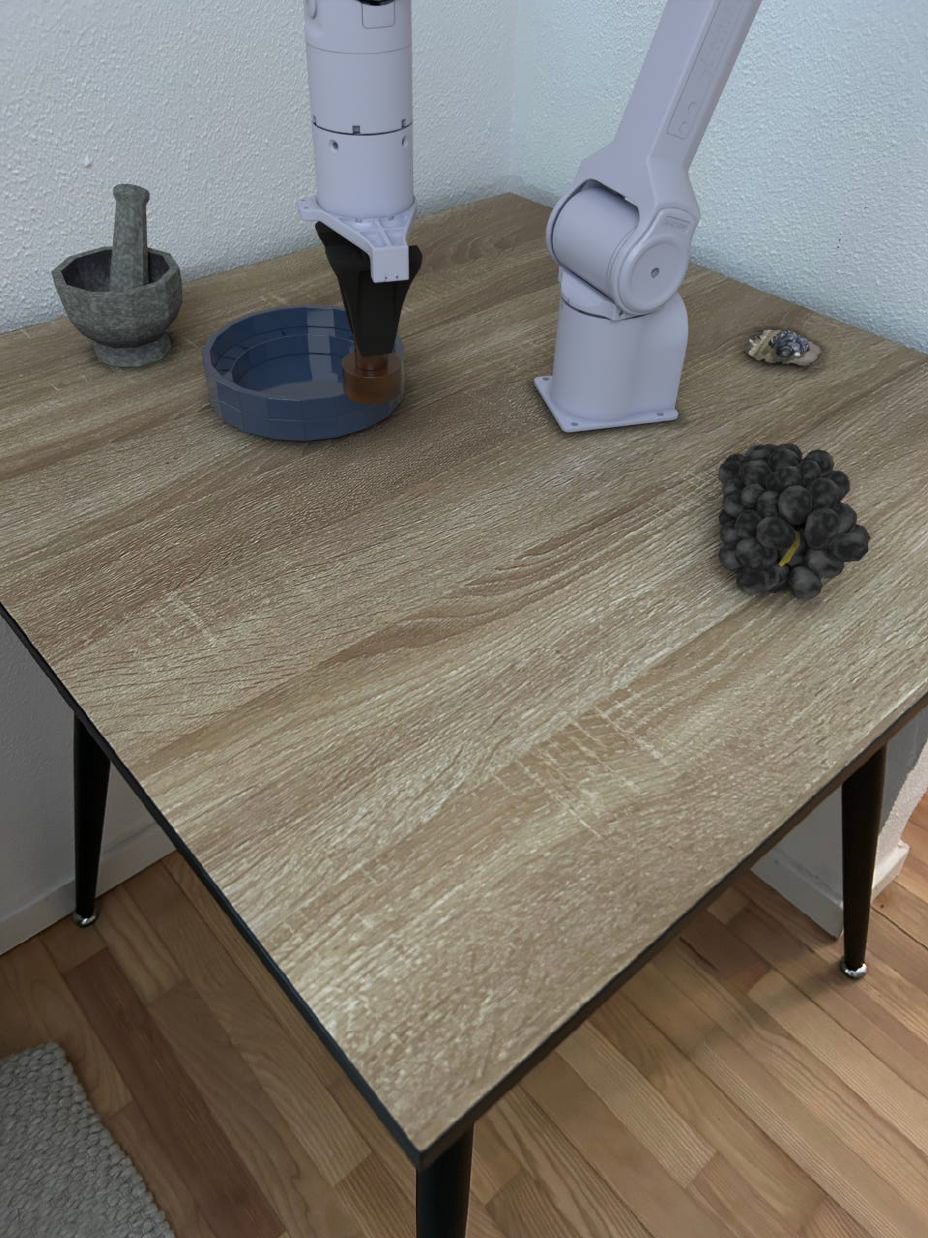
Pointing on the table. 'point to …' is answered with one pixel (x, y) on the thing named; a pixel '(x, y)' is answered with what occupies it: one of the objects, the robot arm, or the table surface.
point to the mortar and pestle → (123, 289)
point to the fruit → (786, 520)
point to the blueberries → (783, 348)
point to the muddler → (371, 377)
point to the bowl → (288, 374)
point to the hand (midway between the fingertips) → (371, 342)
